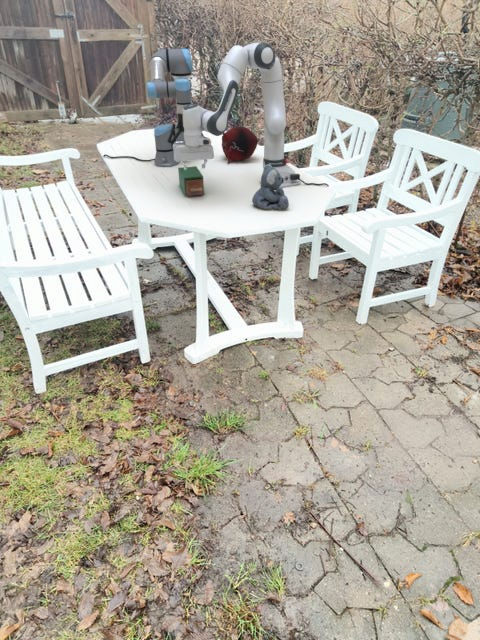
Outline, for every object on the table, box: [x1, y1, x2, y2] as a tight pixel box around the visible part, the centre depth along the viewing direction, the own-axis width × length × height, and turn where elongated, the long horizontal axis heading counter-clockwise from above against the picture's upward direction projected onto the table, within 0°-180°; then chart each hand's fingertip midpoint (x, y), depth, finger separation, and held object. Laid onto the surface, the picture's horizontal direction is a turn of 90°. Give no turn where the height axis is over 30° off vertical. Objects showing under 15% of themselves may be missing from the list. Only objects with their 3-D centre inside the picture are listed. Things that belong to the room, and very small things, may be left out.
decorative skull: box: [221, 126, 259, 165], centre depth 296 cm, size 21×24×25 cm
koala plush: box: [251, 164, 290, 211], centre depth 224 cm, size 17×18×20 cm
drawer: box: [186, 178, 205, 197], centre depth 243 cm, size 24×9×8 cm, turn 15°
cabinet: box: [177, 165, 205, 197], centre depth 248 cm, size 19×10×10 cm, turn 15°
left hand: (187, 154), depth 245 cm, fingers open, 13 cm apart
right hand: (194, 168), depth 230 cm, fingers open, 8 cm apart
